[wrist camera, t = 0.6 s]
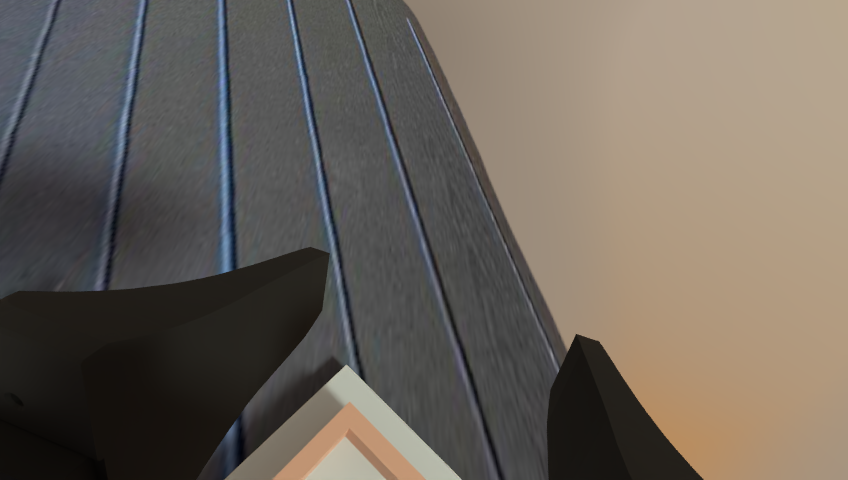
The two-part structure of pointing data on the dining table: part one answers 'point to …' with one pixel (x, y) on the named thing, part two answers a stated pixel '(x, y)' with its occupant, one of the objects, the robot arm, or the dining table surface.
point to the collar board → (344, 441)
